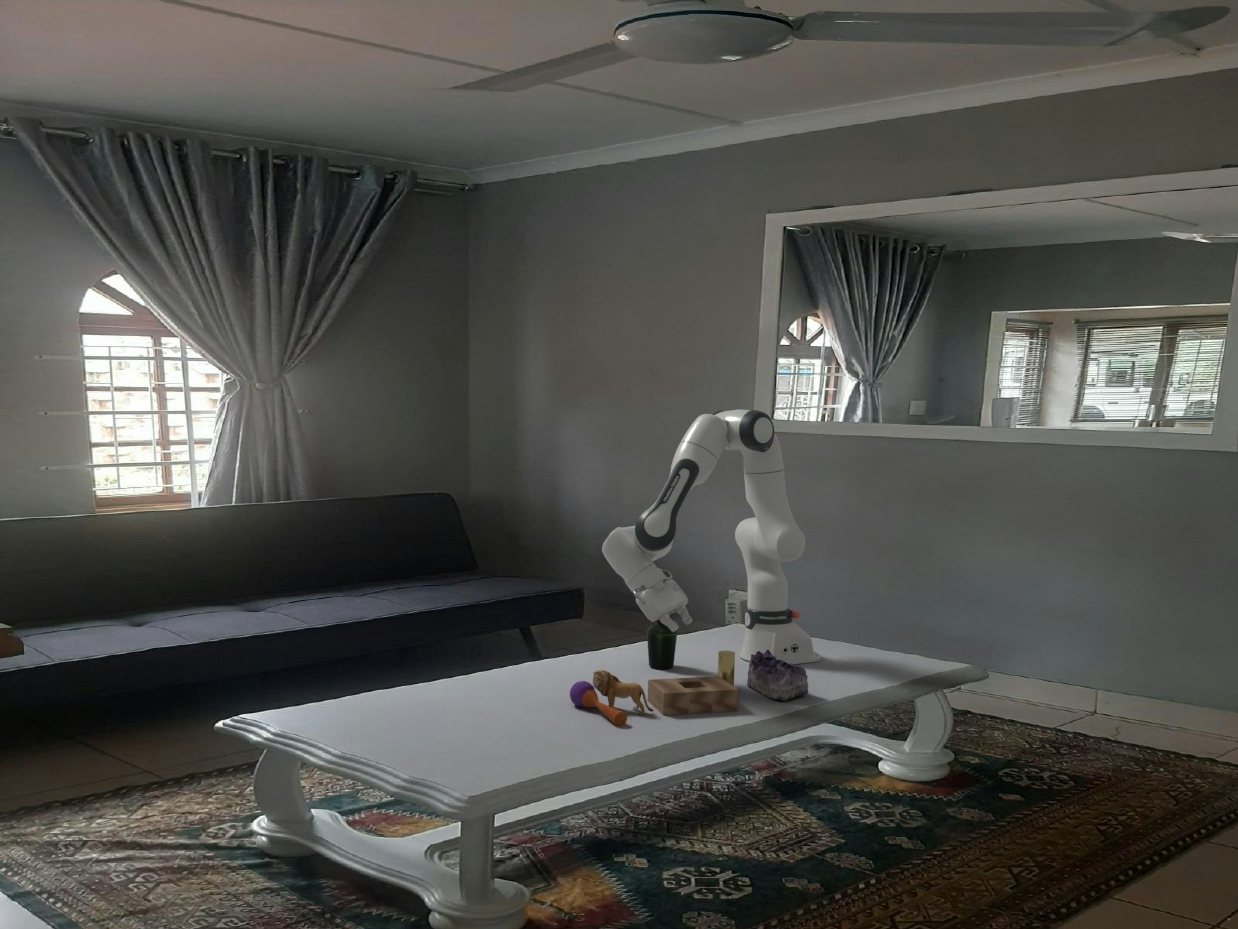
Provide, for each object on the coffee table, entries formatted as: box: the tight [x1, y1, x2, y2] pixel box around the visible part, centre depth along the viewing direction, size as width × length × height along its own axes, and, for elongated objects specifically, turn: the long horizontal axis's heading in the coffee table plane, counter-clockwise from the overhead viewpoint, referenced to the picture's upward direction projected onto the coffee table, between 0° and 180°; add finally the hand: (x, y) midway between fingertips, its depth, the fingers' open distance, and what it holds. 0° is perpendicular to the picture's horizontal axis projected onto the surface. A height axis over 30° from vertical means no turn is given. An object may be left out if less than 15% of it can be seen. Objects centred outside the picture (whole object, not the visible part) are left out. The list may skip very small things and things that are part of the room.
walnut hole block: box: [647, 675, 739, 716], centre depth 252 cm, size 18×12×5 cm, turn 105°
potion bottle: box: [646, 612, 678, 671], centre depth 287 cm, size 8×8×18 cm
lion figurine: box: [592, 669, 654, 716], centre depth 247 cm, size 15×5×9 cm, turn 75°
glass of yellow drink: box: [717, 650, 736, 687], centre depth 264 cm, size 4×4×10 cm
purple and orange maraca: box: [569, 680, 628, 727], centre depth 244 cm, size 6×6×20 cm
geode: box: [746, 650, 809, 702], centre depth 266 cm, size 20×12×10 cm, turn 26°
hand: (683, 626), depth 268 cm, fingers open, 8 cm apart
